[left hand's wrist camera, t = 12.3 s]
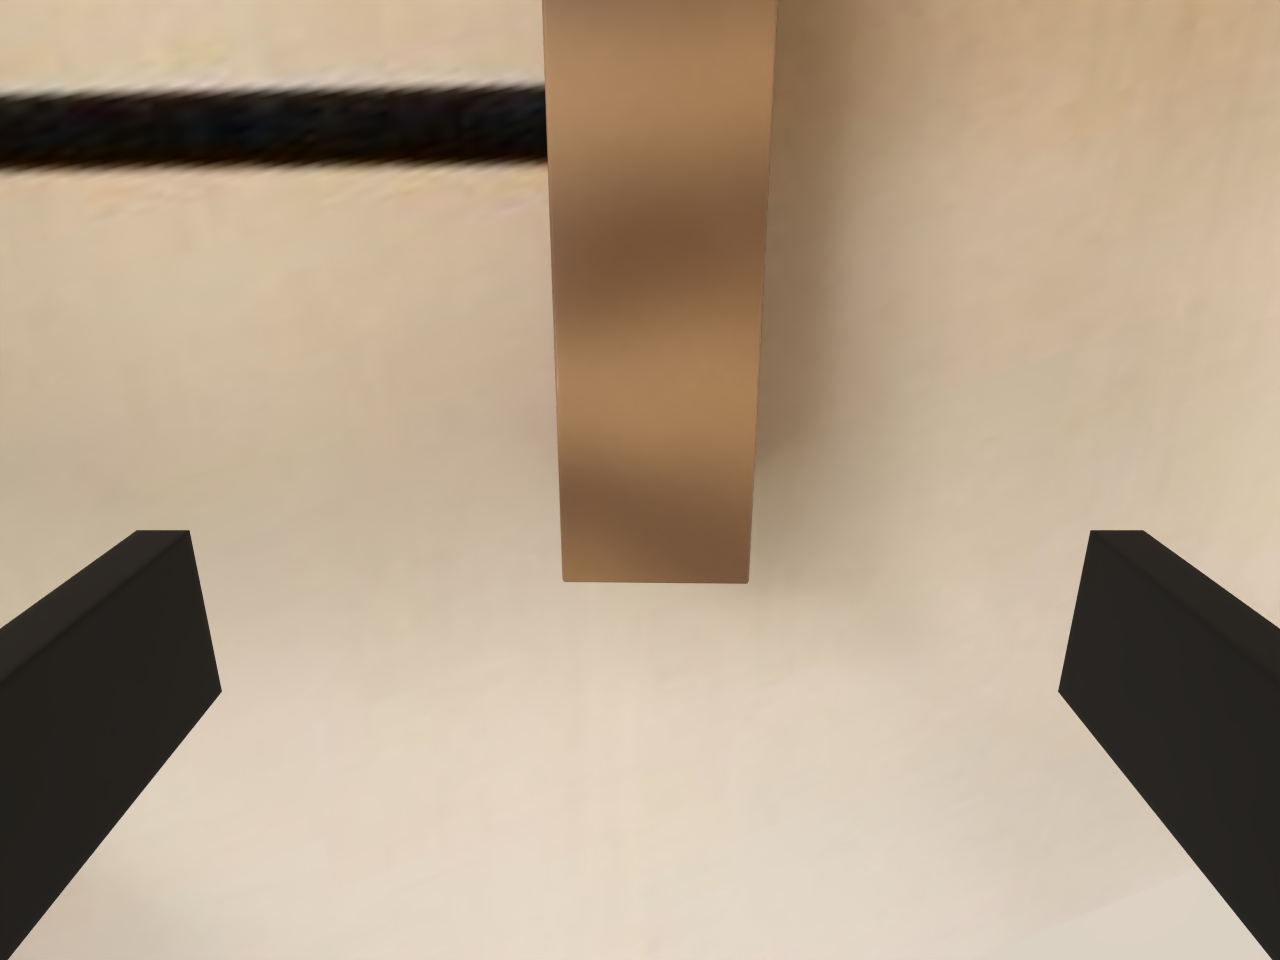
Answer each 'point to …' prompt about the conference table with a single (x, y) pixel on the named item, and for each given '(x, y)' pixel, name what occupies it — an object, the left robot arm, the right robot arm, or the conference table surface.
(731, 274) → the beam
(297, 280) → the conference table surface
